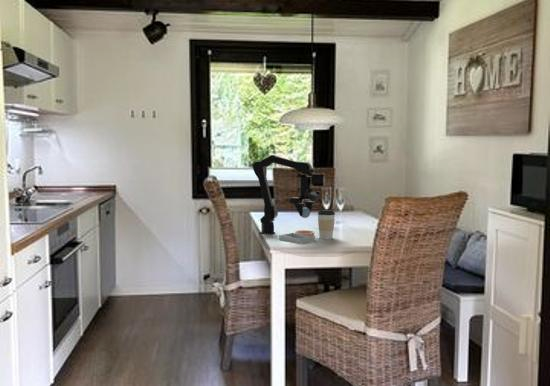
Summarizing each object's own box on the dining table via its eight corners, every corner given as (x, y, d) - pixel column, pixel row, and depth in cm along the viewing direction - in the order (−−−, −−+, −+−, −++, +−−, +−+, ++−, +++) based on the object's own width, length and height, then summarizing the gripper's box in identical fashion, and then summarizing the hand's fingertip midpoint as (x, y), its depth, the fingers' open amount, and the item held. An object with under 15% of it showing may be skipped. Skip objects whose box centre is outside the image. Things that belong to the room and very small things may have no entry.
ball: (305, 219, 278) (305, 208, 277) (297, 217, 281) (297, 207, 281) (312, 217, 281) (312, 207, 281) (304, 216, 285) (304, 206, 285)
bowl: (291, 235, 282) (291, 231, 282) (303, 233, 290) (303, 229, 289) (305, 237, 276) (305, 234, 275) (318, 235, 283) (318, 231, 282)
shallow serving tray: (278, 239, 271) (278, 235, 270) (292, 236, 278) (292, 232, 278) (300, 243, 260) (301, 239, 260) (314, 240, 268) (314, 236, 267)
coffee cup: (333, 236, 281) (333, 208, 280) (335, 239, 272) (336, 210, 271) (316, 236, 281) (316, 208, 279) (318, 239, 272) (318, 210, 270)
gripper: (304, 188, 268) (304, 219, 269) (328, 186, 281) (327, 215, 282) (288, 186, 275) (288, 216, 277) (312, 184, 289) (312, 213, 290)
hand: (304, 215), depth 281 cm, fingers closed on ball, 6 cm apart
